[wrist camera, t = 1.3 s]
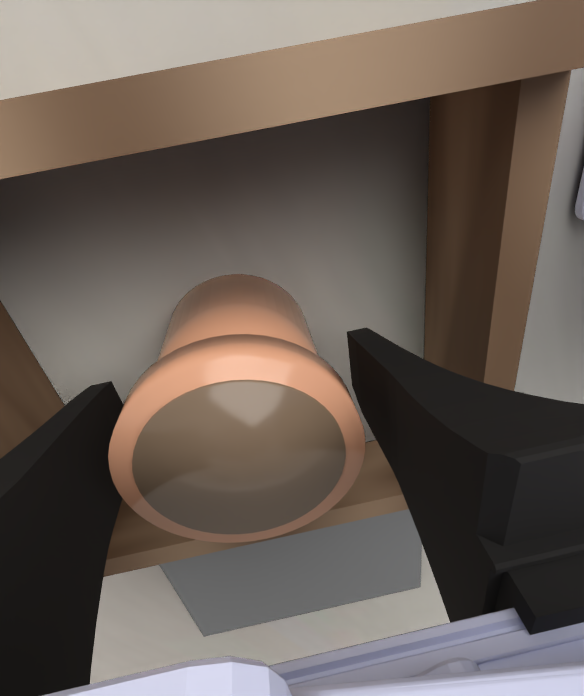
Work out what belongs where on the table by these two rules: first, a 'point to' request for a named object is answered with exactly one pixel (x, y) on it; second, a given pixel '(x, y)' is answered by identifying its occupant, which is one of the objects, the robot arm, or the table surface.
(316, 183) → the table surface
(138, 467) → the terracotta pot
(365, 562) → the slate mat
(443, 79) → the frame
